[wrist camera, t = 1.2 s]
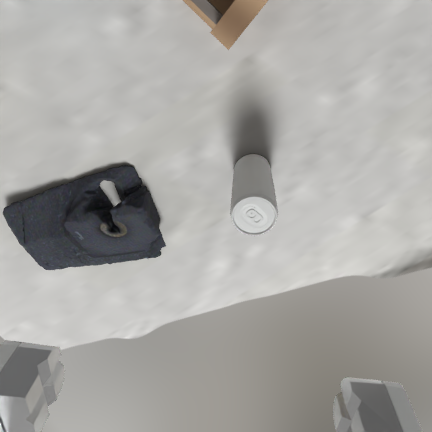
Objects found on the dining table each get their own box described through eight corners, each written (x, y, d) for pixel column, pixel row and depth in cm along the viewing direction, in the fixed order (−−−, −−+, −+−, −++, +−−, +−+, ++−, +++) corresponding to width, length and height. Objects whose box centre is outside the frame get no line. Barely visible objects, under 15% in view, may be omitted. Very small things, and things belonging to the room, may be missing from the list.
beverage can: (252, 144, 45) (254, 185, 34) (279, 169, 46) (288, 216, 36) (226, 170, 47) (220, 217, 36) (252, 193, 48) (254, 245, 38)
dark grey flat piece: (-3, 188, 51) (-25, 203, 47) (142, 159, 47) (132, 173, 43) (45, 271, 58) (30, 291, 54) (174, 252, 54) (168, 272, 50)
